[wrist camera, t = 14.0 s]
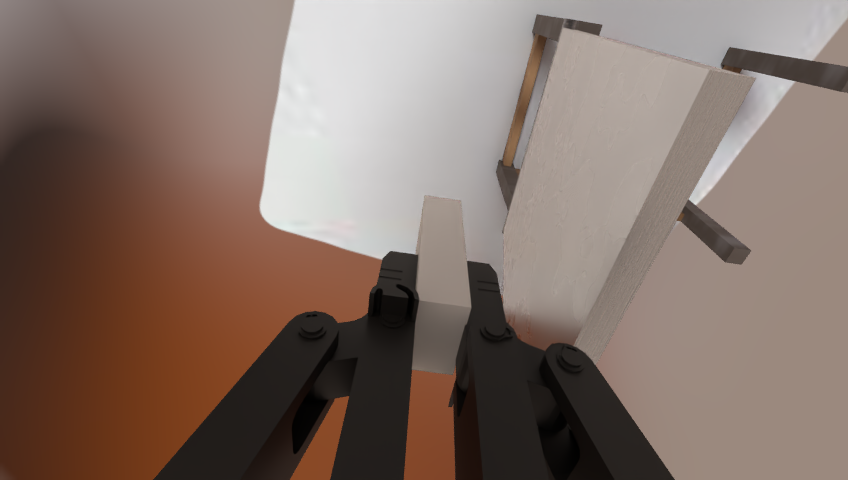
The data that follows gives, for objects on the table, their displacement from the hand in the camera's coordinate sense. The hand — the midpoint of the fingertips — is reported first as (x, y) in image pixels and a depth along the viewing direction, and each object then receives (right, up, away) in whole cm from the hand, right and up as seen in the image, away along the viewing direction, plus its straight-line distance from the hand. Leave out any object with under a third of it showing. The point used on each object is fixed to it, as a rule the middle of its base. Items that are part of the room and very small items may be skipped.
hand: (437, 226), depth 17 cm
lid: (+6, +1, +4) cm, 7 cm away
